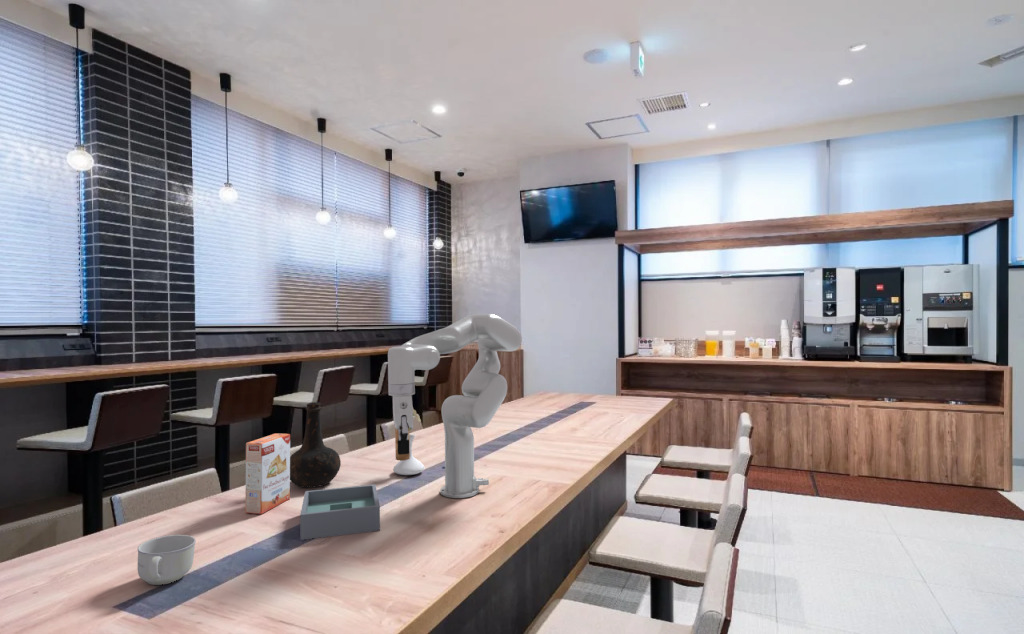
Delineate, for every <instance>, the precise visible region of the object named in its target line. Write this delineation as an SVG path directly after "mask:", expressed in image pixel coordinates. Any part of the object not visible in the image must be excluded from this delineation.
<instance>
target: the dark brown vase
mask: <svg viewBox="0 0 1024 634" xmlns="http://www.w3.org/2000/svg"><path fill="white" fill-rule="evenodd" d="M305 410H306V422H305V431H304V437H303V441H302V444H301V447H300V448H299V449H297V450H296V451H295V452H293V453H292V454H290V483H293V484H294V485H295V486H297V487H301V488H308V489H309V488H317V487H322V486H324V485H327V484H329V483H330V482H332V481H333V480H334V479H335V478H336V477H337V474H338V473H339V471H340V470H341V469H340V467H341V463H342V462H341V457H340V455H339V453H338V452H337V451H336V450H334V449H333V448H330V447H328V446H326V445H325V444H324V441H323V440H324V439H323V433H322V423H321V410H323V407H321V402H308V403H307V404H306V408H305Z"/></svg>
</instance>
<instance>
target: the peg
mask: <svg viewBox="0 0 1024 634" xmlns="http://www.w3.org/2000/svg"><path fill="white" fill-rule="evenodd" d="M400 429H402V427H400ZM394 431H395V433H394V435H395V436H394V438H395V443H394V445H395V460H396V461H402V460H408V459H410V448H409V454H401V455H399V454H398V440H399V437H398V430H397V429H396V428H395V427H394ZM409 434H410V431H409V426H408V436H409Z"/></svg>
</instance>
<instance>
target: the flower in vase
mask: <svg viewBox="0 0 1024 634" xmlns="http://www.w3.org/2000/svg"><path fill="white" fill-rule="evenodd" d="M413 418H415V419H416V421H417V422H418V423H421V422H422V420H421V419H420V416H419V415H418V413H417V410H416V409H414V408H413ZM412 430H413V429H411V428H409V432H410V431H412ZM415 437H416V434H413V433H409V448H410V459H408V460H402V461H400V460H398V462H397V463H396V464H395V465H394V466H393V469H392V471H393V472H394V473H395V474H397V475H400V476H412V475H417V474H420V473H422V472H423V471H424V470H425V465H424V464H423V463H422V462H421V461H420V460H419V459H417V458H416V457H414V456H413V449H412V448H413V441H414V439H415Z"/></svg>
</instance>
